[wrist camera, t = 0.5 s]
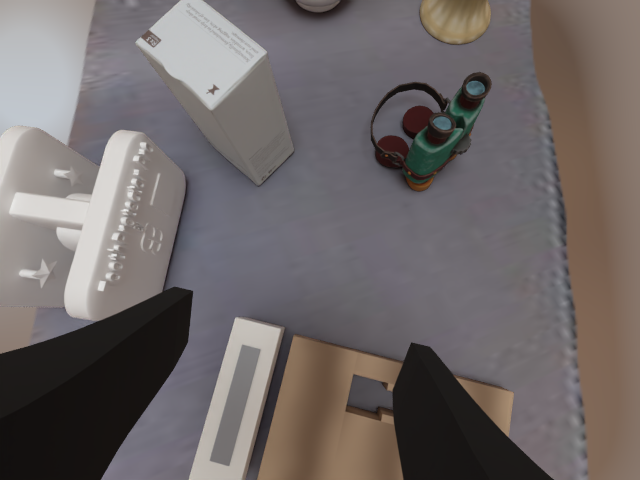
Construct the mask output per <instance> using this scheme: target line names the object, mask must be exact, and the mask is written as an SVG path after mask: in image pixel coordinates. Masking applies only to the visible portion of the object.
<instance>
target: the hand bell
mask: <svg viewBox="0 0 640 480" xmlns="http://www.w3.org/2000/svg"><path fill="white" fill-rule="evenodd" d="M490 17H491V11H490V6H489V3H488V0H423V1H422V3H421V6H420V18H421V22H422V24H423V26H424V28H425V29H426V31H427V32H428V33H429V34H430V35H432V36H433V37H434V38H436V39H438V40H440V41H442V42H444V43H448V44H457V45H459V44H466V43H470V42H472V41H474V40H476V39H478V38H479V37H480V36H482V35H483V34H484V32H485V31H486V30H487V28H488V26H489V23H490Z"/></svg>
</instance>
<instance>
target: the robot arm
mask: <svg viewBox="0 0 640 480" xmlns="http://www.w3.org/2000/svg"><path fill="white" fill-rule="evenodd" d="M192 297H193V291H191V290H187V289H183V288H178V287H173V288H170V289H168V290H166V291H163V292H161V293H159V294H157V295H155V296H153V297H151V298H149V299H147V300H145V301H143V302H140V303H138V304H136V305H134V306H132V307H130V308H128V309H125V310H123V311H121V312H119V313H117V314H114V315H112V316H110V317H107V318H105V319H102V320H100V321H98V322H95V323H93V324H90V325H88V326H86V327H83V328H81V329H78V330H75V331H73V332H70V333H67V334H64V335H62V336H59V337H56V338H53V339H50V340H47V341H44V342H41V343H37V344H34V345H31V346H28V347H24V348H20V349H17V350H13V351H9V352H6V353H2V354H0V480H101V478H102V477H103V475H104V473H105V471H106V470H107V468H108V466H109V464H110V463H111V461H112V459H113V458H114V456H115V454H116V452H117V451H118V449H119V447H120V446H121V444H122V443H123V441H124V440H125V438H126V437H127V435H128V434H129V432H130V431H131V429H132V428H133V426H134V425H135V424H136V422H137V421H138V419H139V418H140V417H141V415H142V414H143V412H144V411H145V410H146V408H147V407H148V405H149V404H150V402H151V401H152V400H153V398H154V397H155V395H156V394H157V393H158V391H159V390H160V388H161V387H162V385H163V384H164V383H165V381H166V380H167V378H168V377H169V375H170V374H171V372H172V371H173V369H174V368H175V366H176V364H177V362H178V360H179V358H180V357H181V355H182V353H183V351H184V349H185V347H186V345H187V343H188V336H189V327H190V317H191V307H192ZM392 391H393V417H394V426H395V433H396V439H397V445H398V451H399V457H400V463H401V468H402V474H403V480H554V479H552V478H551V477H550V476H549V475H548V474H547V473H545V472H544V471H543V470H542V469H541V468H540V467H539V466H538V465H537V464H535V463H534V462H533V461H532V460H531V459H530V458H529V457H528V456H527V455H526V454H525V453H524V452H523V451H522V450H521V449H520V448H519V447H518V446H517V445H516V444H515V443H514V442H512V441H511V440H510V439H509V438H508V436H507V435H506V434H505V433H504V432H503V431H502V430H501V429H500V428H499V427H498V426H497V425H496V424H495V423H494V422H493V421H492V420H491V418H490V417H489V416H488V415H487V414H486V413H485V412H484V411H483V410H482V409H481V407H480V406H479V405H478V404H477V403H476V402H475V401H474V399H473V398H472V397H471V396H470V395H469V394H468V392H467V391H466V390H465V389H464V388H463V386H462V385H461V384H460V383H459V381H458V380H457V379H456V378H455V377H454V375H453V374H452V373H451V372H450V370H449V369H448V368H447V367H446V365H445V364H444V363H443V362H442V360H441V359H440V358H439V357H438V356H437V354H436V353H435V352H434V351H433V350H432V349H431V348H430V347H428V346H424V345H420V344H416V343H411V345H410V347H409V350H408V352H407V355H406V357H405V360H404V362H403V365H402V367H401V370H400V372H399V375H398V377H397V380H396V382H395V385H394V387H393V390H392Z"/></svg>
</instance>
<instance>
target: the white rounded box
mask: <svg viewBox="0 0 640 480" xmlns="http://www.w3.org/2000/svg"><path fill="white" fill-rule="evenodd" d="M185 189H186V181H185V176H184V173H183V171H182V170H181V169H180V168H179V167H178V166H177V165H176V164H175V163H174V162H173V161H172V160H171V159H170V158H169V157H168V156H167V155H166V154H165V153H164V152H163V151H162V150H161V149H160V148H159V147H158V146H157V145H156V144H155V143H154V142H153V141H151V140H150V139H149V138H148V137H147V136H146V135H145V134H144V133H142V132H135V131H127V130H119V131H117V132H115V133H114V134H113V135H112V137H111V138H110V139H109V141H108V143H107V146H106V148H105V152H104V155H103V159H102V162H101V166H100V167H99V166H97V165H96V164H94V163H93V162H91V161H90V160H88V159H87V158H85V157H83V156H82V155H80V154H79V153H77V152H76V151H74V150H73V149H71V148H69V147H68V146H66V145H65V144H63V143H62V142H60V141H59V140H56V139H55V138H54V137H52V136H51V135H49V134H48V133H46V132H44V131H43V130H41V129H39V128H34V127H26V126H14V127H12V128H9V129H8V130H6V131H5V132H4V133H3V134H2V136H1V137H0V307H1V306H2V307H64V306H65V308H66V311H67V313H68V314H69V315H70V316H71V317H74V318H80V319H87V320H93V321H100V320H102V319H105V318H107V317H110V316H112V315H114V314H117V313H119V312H121V311H123V310H125V309H128V308H130V307H132V306H134V305H136V304H138V303H140V302H143V301H145V300H147V299H149V298H151V297H153V296H155V295H157V294H159V293H161V292H162V290H163V286H164V282H165V278H166V273H167V269H168V265H169V261H170V256H171V252H172V248H173V244H174V239H175V235H176V231H177V227H178V222H179V218H180V214H181V210H182V205H183V201H184V197H185Z"/></svg>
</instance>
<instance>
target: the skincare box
mask: <svg viewBox="0 0 640 480" xmlns="http://www.w3.org/2000/svg"><path fill="white" fill-rule="evenodd" d="M136 45H137V46H138V48H139V49H140V50H141V52H142V53H143V54H144V56H145V57H146V58H147V60H148V61H149V62H150V64H151V65H152V67H153V68H154V69H155V70H156V72H157V73H158V74H159V76H160V77H161V78H162V80H163V81H164V82H165V84H166V85H167V86H168V88H169V89H170V90H171V92H172V93H173V94H174V96H175V97H176V98H177V100H178V101H179V102H180V104H181V105H182V106H183V108H184V109H185V110H186V112H187V113H188V114H189V116H190V117H191V118H192V120H193V121H194V122H195V124H196V125H197V126H198V127H199V129H200V130H201V132H202V133H203V134H204V136H205V137H206V138H207V140H208V141H209V142H210V144H211V145H212V146H213V147H214V148H215V149H216V150H217V151H219V152H220V153H221V154H222V155H223V156H224V157H225V158H226V159H227V160H229V161H230V162H231V163H232V164H233V165H234V166H235V167H237V168H238V169H239V170H240V171H241V172H242V173H244V174H245V175H246V176H247V177H249V178H250V179H251V180H252V181H253V182H254V183H255V184H256V185H257V186H259V185H261V184H262V183H263V182H264V181H265V180H266V179H267V178H268V177H269V176H270V175H271V174H272V173H273V172H274V171H275V170H276V169H277V168H278V167H279V166H280V165H281V164H282V163H283V162H284V161H285V160H286V159H287V158H288V157H289V156H290V155H291V154H292V153H293V152H294V147H293V143H292V140H291V136H290V133H289V129H288V125H287V122H286V118H285V115H284V111H283V108H282V104H281V101H280V97H279V94H278V90H277V87H276V83H275V80H274V76H273V73H272V69H271V66H270V62H269V58H268V55H267V51H266V50H265V49H263V48H262V47H261V46H260V45H258V44H257V43H256V42H254V41H253V40H252V39H251V38H250V37H248V36H247V35H246V34H245V33H243V32H242V31H241V30H239V29H238V28H237V27H236V26H235V25H233V24H232V23H231V22H229V21H228V20H227V19H226V18H224V17H223V16H222V15H221V14H219V13H218V12H217V11H216V10H214V9H213V8H212V7H210V6H209V5H208V4H207V3H205V2H204V1H203V0H181V1H180V2H178V3H177V4H176V5H175V6H174V7H173V8H172V9H171V10H170V11H169V12H168V13H166V14H165V15H164V16H163V17H162V18H161V19H160V20H159V21H158V22H157V23H155V24H154V25H153V26H152V27H151V28H150V29H149V30H148V31H147V32H146V33H145V34H144V35H143V36H142V37H140V38H139V39H138V40H137V41H136Z"/></svg>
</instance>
